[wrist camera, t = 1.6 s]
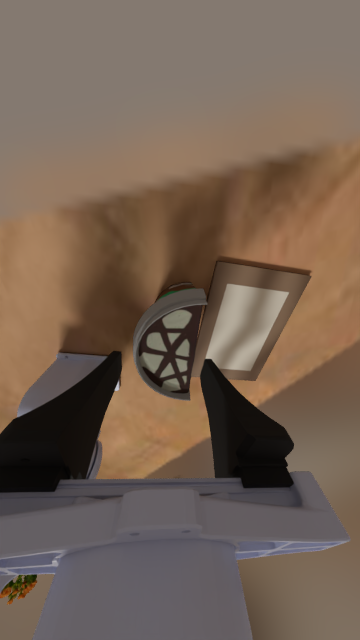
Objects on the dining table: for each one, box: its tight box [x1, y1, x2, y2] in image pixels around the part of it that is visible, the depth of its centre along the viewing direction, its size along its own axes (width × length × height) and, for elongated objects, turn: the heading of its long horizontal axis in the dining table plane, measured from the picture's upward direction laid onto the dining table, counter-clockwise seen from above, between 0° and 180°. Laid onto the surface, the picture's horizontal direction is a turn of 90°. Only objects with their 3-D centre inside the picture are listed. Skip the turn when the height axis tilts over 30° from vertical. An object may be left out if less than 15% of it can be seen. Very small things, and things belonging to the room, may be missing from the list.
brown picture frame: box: [191, 261, 311, 381], centre depth 25 cm, size 13×20×1 cm, turn 171°
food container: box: [133, 282, 207, 401], centre depth 18 cm, size 12×6×10 cm, turn 175°
